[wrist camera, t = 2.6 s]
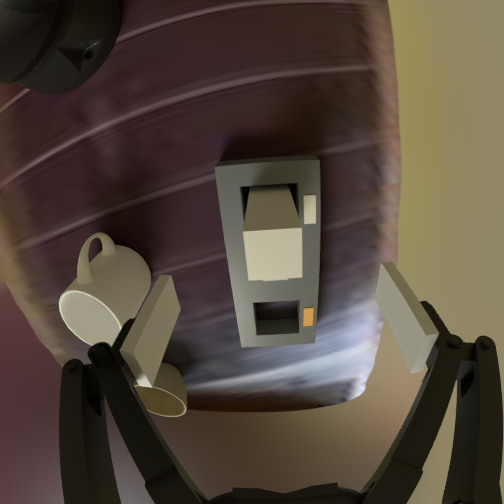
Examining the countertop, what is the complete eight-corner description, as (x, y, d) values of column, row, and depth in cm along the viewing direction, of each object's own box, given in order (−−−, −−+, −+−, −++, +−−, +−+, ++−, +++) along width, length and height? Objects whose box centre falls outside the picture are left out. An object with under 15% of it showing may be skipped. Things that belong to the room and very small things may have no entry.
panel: (219, 161, 28) (214, 167, 26) (314, 155, 28) (319, 160, 25) (243, 332, 40) (241, 347, 37) (312, 328, 39) (314, 343, 36)
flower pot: (176, 349, 42) (165, 384, 36) (202, 384, 47) (196, 416, 41) (130, 355, 44) (117, 386, 38) (158, 387, 49) (150, 416, 42)
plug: (250, 185, 30) (242, 231, 19) (287, 183, 29) (302, 227, 19) (254, 228, 32) (249, 291, 21) (289, 226, 32) (302, 288, 21)
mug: (141, 217, 32) (99, 262, 22) (158, 297, 37) (132, 354, 28) (86, 219, 32) (38, 260, 23) (107, 294, 38) (75, 343, 28)
